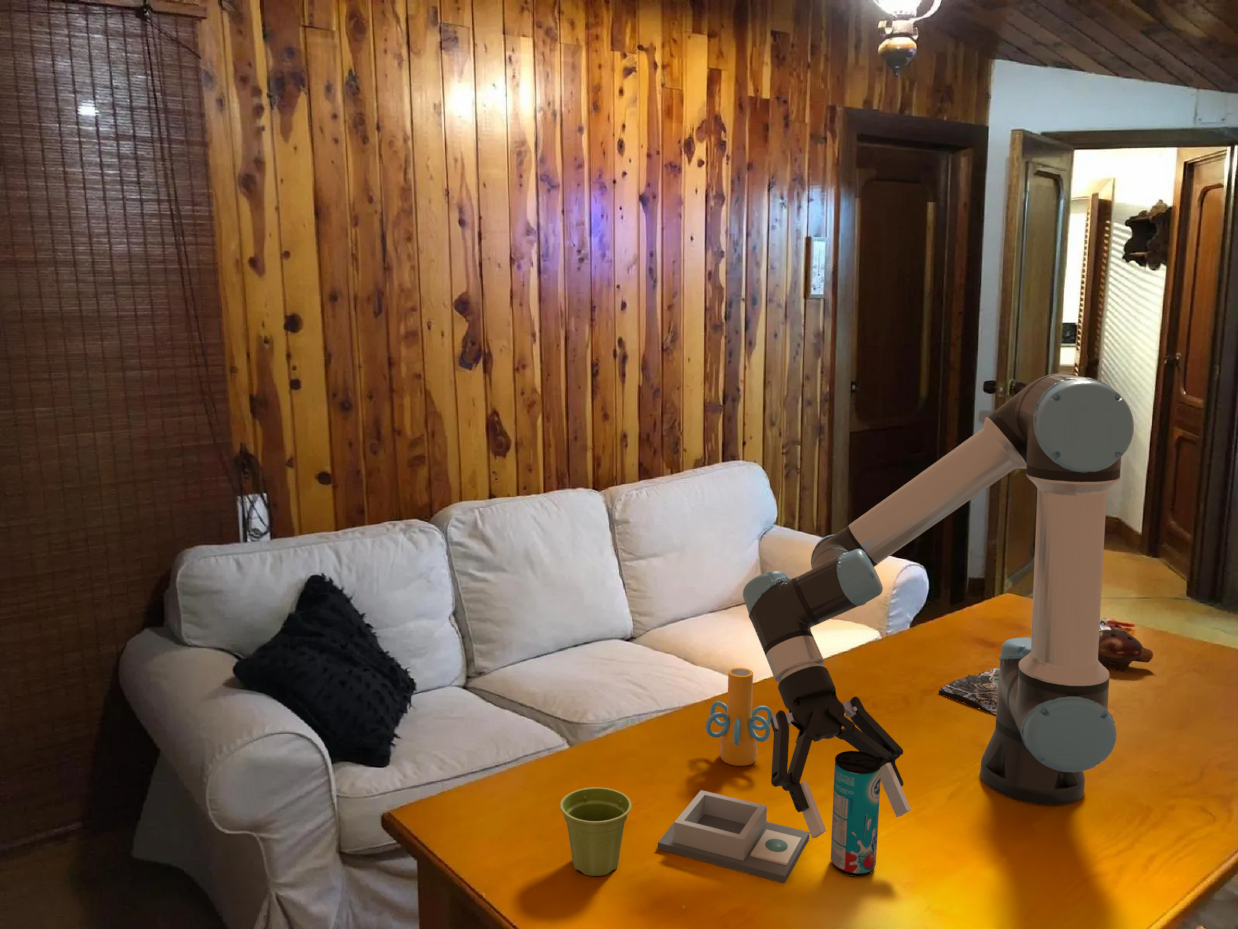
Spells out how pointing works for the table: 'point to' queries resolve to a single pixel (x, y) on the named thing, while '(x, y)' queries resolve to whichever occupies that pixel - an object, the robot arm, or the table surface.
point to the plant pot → (595, 828)
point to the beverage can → (855, 812)
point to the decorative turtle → (1121, 649)
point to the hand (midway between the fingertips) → (862, 824)
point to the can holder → (735, 837)
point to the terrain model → (976, 690)
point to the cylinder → (739, 720)
